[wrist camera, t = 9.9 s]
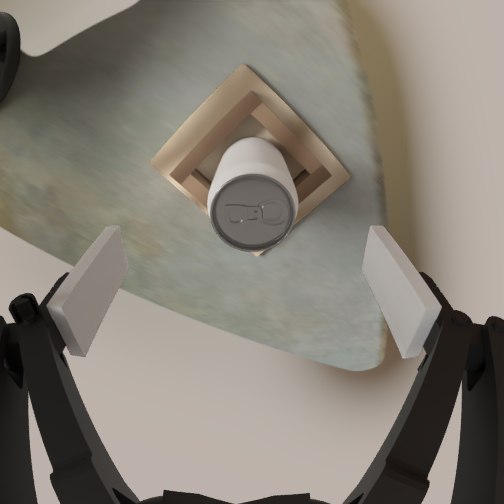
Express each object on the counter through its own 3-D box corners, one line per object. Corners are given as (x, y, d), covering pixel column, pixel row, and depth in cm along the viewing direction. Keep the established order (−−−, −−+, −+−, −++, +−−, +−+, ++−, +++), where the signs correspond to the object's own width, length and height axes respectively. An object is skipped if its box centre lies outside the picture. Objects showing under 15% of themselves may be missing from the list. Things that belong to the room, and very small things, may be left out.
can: (285, 195, 32) (301, 255, 22) (223, 198, 32) (210, 260, 22) (283, 134, 29) (302, 165, 18) (217, 138, 29) (197, 171, 19)
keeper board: (151, 161, 31) (141, 169, 28) (243, 63, 26) (242, 60, 23) (256, 253, 36) (256, 269, 34) (349, 174, 31) (358, 184, 29)
